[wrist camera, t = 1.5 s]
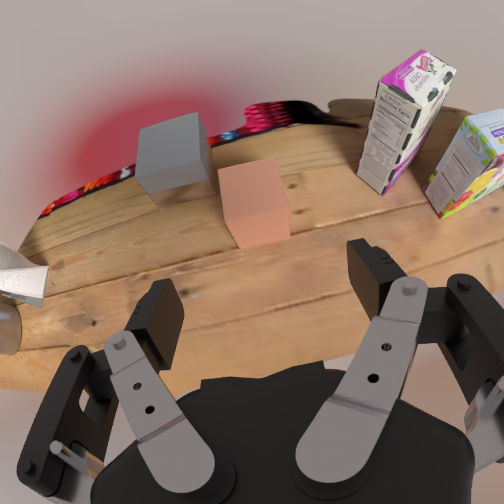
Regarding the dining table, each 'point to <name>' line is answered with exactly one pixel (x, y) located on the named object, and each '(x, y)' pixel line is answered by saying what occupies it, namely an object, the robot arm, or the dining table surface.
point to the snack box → (469, 164)
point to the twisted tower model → (21, 277)
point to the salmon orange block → (254, 202)
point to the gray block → (172, 154)
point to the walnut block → (187, 189)
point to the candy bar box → (402, 118)
